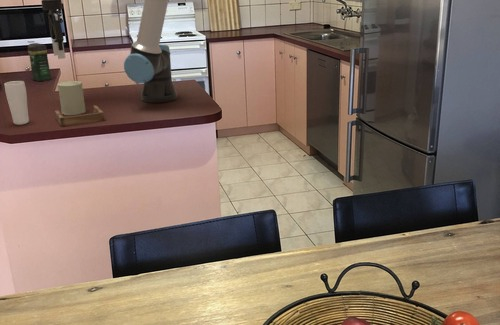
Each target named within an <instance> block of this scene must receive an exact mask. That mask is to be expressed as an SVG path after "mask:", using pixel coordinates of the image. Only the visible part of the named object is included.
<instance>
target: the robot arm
mask: <svg viewBox="0 0 500 325" xmlns="http://www.w3.org/2000/svg"><path fill="white" fill-rule="evenodd" d="M40 2H41V6H42V10H43V11H48V13H47V17H48V24H49V32H50V33H49V34H50V38H51V42H52V49H53V50H52V51H53V56H54V57H55V56H56V57H57V58H58V60H62V59H66V52H65V45H64V39H65V38H64V34H63V28H62V23H61V15H60V14H59V13H58V10H60V11H61V10H62V9H63V1H62V0H41V1H40ZM168 4H169V0H144V2H143V7H142V12H141V16H140V22H139V27H138V33H137V39H136V40H135V41H134V42H133V43H132V44H131V47H130V53H129V55H128V56H127V57H126V58H125V60H124V61H123V70H124V72H125V74H126V76H127V77H128V78H129V79H130V80H131V81H132V82H135V83H137V84H143V85H142V90H141V93H140V99H141V101H142V102H143V103H149V104H150V103H151V104H152V103H154V104H155V103H156V104H158V103H159V104H160V103H167V102H169V103H170V102H172V101H175V100H177V98H178V94H177V90H176V87H175V85H174V83H173V79H172V66H171V65H172V64H171V52H170V51H171V50H170V46H169V44H168V45H167V44H161V43H160V41H161V37H162V32H163V27H164V23H165V20H166V19H165V17H166V14H167V9H168Z"/></svg>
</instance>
